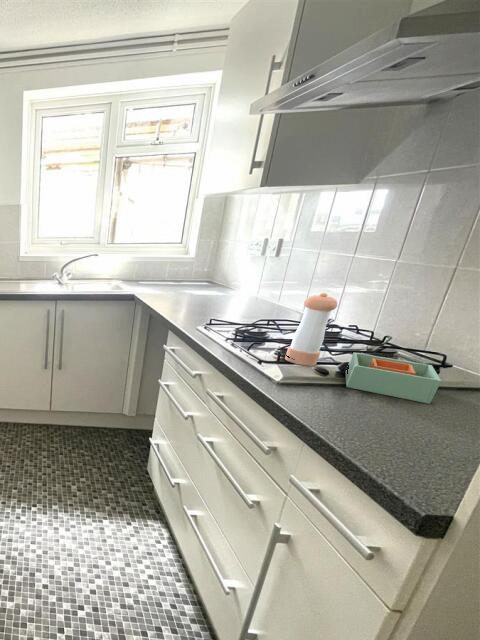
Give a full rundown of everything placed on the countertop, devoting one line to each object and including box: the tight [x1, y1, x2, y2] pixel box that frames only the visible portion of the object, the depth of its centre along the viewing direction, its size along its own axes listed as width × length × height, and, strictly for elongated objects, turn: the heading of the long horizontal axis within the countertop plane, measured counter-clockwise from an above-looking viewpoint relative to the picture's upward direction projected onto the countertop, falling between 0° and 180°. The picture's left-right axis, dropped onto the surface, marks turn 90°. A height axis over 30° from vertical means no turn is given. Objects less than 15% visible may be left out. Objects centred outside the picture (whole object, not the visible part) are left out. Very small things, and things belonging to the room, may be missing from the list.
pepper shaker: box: [284, 292, 338, 367], centre depth 114 cm, size 7×7×19 cm
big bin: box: [345, 352, 442, 405], centre depth 100 cm, size 14×12×6 cm
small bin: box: [369, 358, 416, 375], centre depth 100 cm, size 7×7×5 cm
